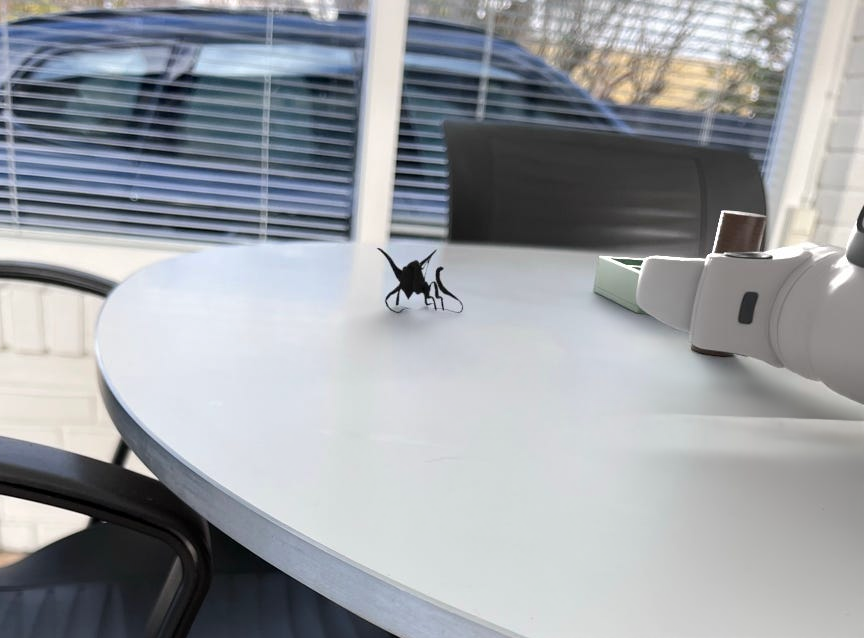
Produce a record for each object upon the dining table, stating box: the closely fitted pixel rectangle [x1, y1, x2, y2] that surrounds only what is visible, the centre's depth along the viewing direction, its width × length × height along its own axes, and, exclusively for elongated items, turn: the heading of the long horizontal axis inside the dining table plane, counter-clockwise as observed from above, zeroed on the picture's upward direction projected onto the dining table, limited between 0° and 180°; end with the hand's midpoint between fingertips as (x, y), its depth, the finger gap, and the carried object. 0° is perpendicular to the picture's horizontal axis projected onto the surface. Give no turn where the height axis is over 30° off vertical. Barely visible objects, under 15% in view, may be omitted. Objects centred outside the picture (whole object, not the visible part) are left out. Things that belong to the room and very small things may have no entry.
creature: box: [376, 247, 464, 314], centre depth 95 cm, size 8×5×8 cm
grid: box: [592, 255, 649, 315], centre depth 110 cm, size 12×12×4 cm
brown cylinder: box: [690, 210, 768, 357], centre depth 88 cm, size 4×4×11 cm
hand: (723, 276), depth 88 cm, fingers closed on brown cylinder, 3 cm apart
